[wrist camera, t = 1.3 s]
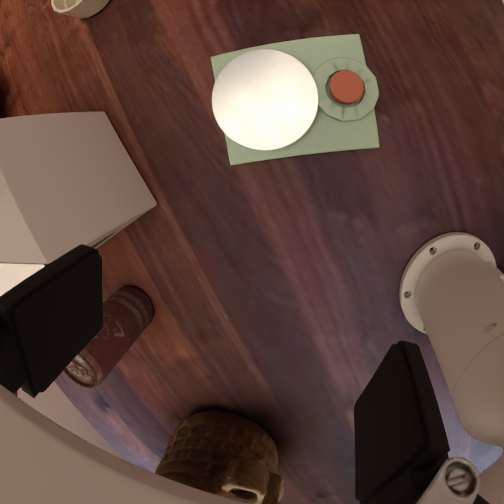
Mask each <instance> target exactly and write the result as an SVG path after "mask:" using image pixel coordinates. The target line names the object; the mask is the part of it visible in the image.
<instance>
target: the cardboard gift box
mask: <svg viewBox="0 0 504 504" xmlns="http://www.w3.org/2000/svg"><path fill="white" fill-rule="evenodd" d="M156 205H157V202H156V201H155V199H154V197H153V196H152V194H151V192H150V191H149V189H148V187H147V186H146V184H145V182H144V180H143V179H142V177H141V175H140V174H139V172H138V170H137V168H136V167H135V165H134V163H133V162H132V160H131V158H130V156H129V155H128V153H127V151H126V149H125V148H124V146H123V144H122V142H121V140H120V139H119V137H118V135H117V133H116V132H115V130H114V128H113V126H112V124H111V122H110V121H109V119H108V117H107V115H106V113H105V112H103V111H100V112H68V113H51V114H37V115H26V116H17V117H8V118H0V296H1V295H3V294H4V293H6V292H7V291H9V290H10V289H11V288H13V287H14V286H16V285H17V284H19V283H20V282H22V281H23V280H25V279H26V278H28V277H29V276H31V275H32V274H34V273H35V272H37V271H38V270H40V269H42V268H43V267H45V266H46V265H48V264H49V263H51V262H53V261H54V260H56V259H57V258H59V257H61V256H62V255H64V254H65V253H67V252H69V251H70V250H72V249H74V248H75V247H77V246H79V245H81V244H84V245H87V246H89V247H92V248H95V249H97V248H98V247H99V246H101V245H102V244H103V243H105V242H106V241H107V240H109V239H110V238H111V237H113V236H114V235H115V234H117V233H118V232H119V231H121V230H122V229H124V228H125V227H126V226H128V225H129V224H130V223H132V222H133V221H135V220H136V219H138V218H139V217H140V216H142V215H143V214H145V213H146V212H148V211H149V210H150V209H152V208H153V207H155V206H156Z"/></svg>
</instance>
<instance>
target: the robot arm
mask: <svg viewBox="0 0 504 504" xmlns="http://www.w3.org/2000/svg"><path fill="white" fill-rule="evenodd" d="M474 244H475V245H474ZM432 247H433V248H432ZM431 248H432V249H431ZM430 249H431V250H430ZM406 291H407V292H406ZM399 298H400V304H401V307H402V310H403V313H404V315H405V317H406V319H407V320H408V321H409V323H410V324H411V325H412V326H413V327H414V328H416V329H417V330H419V331H421V332H423V333H425V334H427V335H428V337H429V339H430V342H431V344H432V347H433V349H434V352H435V354H436V357H437V360H438V362H439V365H440V367H441V370H442V373H443V376H444V378H445V381H446V384H447V387H448V390H449V392H450V395H451V398H452V401H453V404H454V407H455V410H456V413H457V416H458V418H459V421H460V423H461V425H462V426H463V428H464V429H465V430H466V432H467V433H468V434H469V435H471V436H472V437H474V438H475V439H477V440H479V441H482V442H485V443H488V444H492V445H497V446H502V447H503V453H502V455H501V457H500V458H499V459H498V460H497V461H496V462H495V463H493V464H492V465H491V466H490V467H488V468H487V469H486V470H484V471H483V472H482V473H481V474H480V475H479V473H478V471H477V469H476V467H475V466H474V465H473V464H472V463H471V462H470V461H468V460H466V459H465V458H461V457H451V458H449V457H448V453H447V452H449V451H450V448H449V444H448V440H447V436H446V432H445V428H444V424H443V421H442V417H441V414H440V410H439V407H438V403H437V400H436V397H435V393H434V390H433V387H432V384H431V381H430V378H429V375H428V372H427V369H426V366H425V363H424V360H423V357H422V354H421V351H420V348H419V346H418V345H417V344H414V343H410V342H406V341H399V342H398V343H397V344H393V345H392V346H391V347H390V349H389V350H388V352H387V354H386V356H385V357H384V359H383V361H382V362H381V364H380V366H379V367H378V369H377V370H376V372H375V374H374V375H373V377H372V378H371V380H370V382H369V383H368V385H367V386H366V388H365V389H364V391H363V392H362V394H361V395H360V397H359V398H358V400H357V402H356V404H355V407H354V426H355V497H356V499H357V500H360V504H504V274H503V273H502V272H501V271H500V270H499V269H498V268H497V267H496V261H495V259H494V256H493V254H492V252H491V251H490V249H489V247H488V246H487V245H486V244H485V243H484V242H482V241H481V240H480V239H478V238H477V237H476V236H473V235H471V234H468V233H463V232H450V233H446V234H443V235H439V236H437V237H435V238H433V239H432V240H430V241H428V242H427V243H426V244H424V245H423V246H422V247H421V248H420V249H419V250H418V251H417V252H416V253H415V254H414V255H413V256H412V258H411V259H410V261H409V262H408V264H407V266H406V268H405V270H404V272H403V275H402V278H401V282H400V289H399ZM102 326H103V300H102V258H101V256H100V255H99V252H98V250H97V249H95V248H92V247H89V246H87V245H84V244H81V245H79V246H77V247H75V248H74V249H72V250H70V251H69V252H67V253H65V254H64V255H62V256H61V257H59V258H57V259H56V260H54V261H53V262H51V263H49V264H48V265H46V266H45V267H43V268H42V269H40V270H38V271H37V272H35V273H34V274H32V275H31V276H29V277H28V278H26V279H25V280H23V281H22V282H20V283H19V284H17V285H16V286H14V287H13V288H11V289H10V290H9V291H7V292H6V293H4V294H3V295H1V296H0V504H249V503H245V502H241V501H237V500H233V499H230V498H226V497H222V496H219V495H215V494H212V493H209V492H205V491H202V490H199V489H196V488H193V487H190V486H187V485H184V484H181V483H178V482H176V481H173V480H170V479H168V478H165V477H162V476H160V475H157V474H155V473H152V472H150V471H148V470H145V469H143V468H140V467H138V466H136V465H134V464H131V463H129V462H127V461H125V460H123V459H120V458H119V457H116V456H114V455H112V454H110V453H108V452H106V451H104V450H102V449H100V448H98V447H96V446H94V445H93V444H91V443H89V442H87V441H86V440H84V439H82V438H80V437H78V436H77V435H75V434H73V433H71V432H70V431H68V430H66V429H65V428H63V427H61V426H60V425H58V424H56V423H55V422H53V421H52V420H50V419H49V418H47V417H46V416H44V415H42V414H41V413H39V412H38V411H36V410H35V409H33V408H32V407H31V406H29V405H28V404H26V403H25V402H24V401H22V400H21V399H19V398H18V397H17V390H18V389H19V388H20V387H21V388H22V390H23V391H24V392H26V393H28V394H29V395H30V396H32V397H33V398H35V396H36V395H37V394H38V393H39V392H44V391H45V390H46V389H47V388H48V387H49V386H50V385H51V383H52V382H53V381H54V380H55V379H56V378H57V377H58V376H59V375H60V373H61V372H62V371H63V370H64V369H65V368H66V367H67V366H68V365H69V364H70V363H71V361H72V360H73V359H74V358H75V357H76V356H77V355H78V354H79V353H80V352H81V351H82V350H83V349H84V347H85V346H86V345H87V344H88V343H89V342H90V341H91V340H92V339H93V338H94V337H95V336H96V335H97V334H98V333H99V332H100V330H101V329H102Z"/></svg>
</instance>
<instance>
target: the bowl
mask: <svg viewBox="0 0 504 504" xmlns="http://www.w3.org/2000/svg"><path fill="white" fill-rule="evenodd" d="M109 1H110V0H51V5H52V7H53V9H54V11H56V12H59V13H62V14H66V15H69V16H73V17H76V18H80V19H82V18H88V17H90V16H92V15H94V14H96V13H98V12H99V11H101V10H102V9H103V8H104V7H105V6H106V5H107V3H108V2H109Z"/></svg>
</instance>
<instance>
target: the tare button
mask: <svg viewBox="0 0 504 504" xmlns="http://www.w3.org/2000/svg"><path fill="white" fill-rule="evenodd" d="M329 91H330V94H331V96H332V97H333V98H334V100H336V101H337V102H339V103H341V104H352V103H354V102H356V101H357V100H358V99H360V97H361V96H362V95H363V92H364V84H363V81H362V79H361V78H360V76H359V75H357V74H356V73H355V72H352V71H349V70H341V71H338V72H337V73H335V74H334V75H333V76H332V78H331V80H330V84H329Z"/></svg>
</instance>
